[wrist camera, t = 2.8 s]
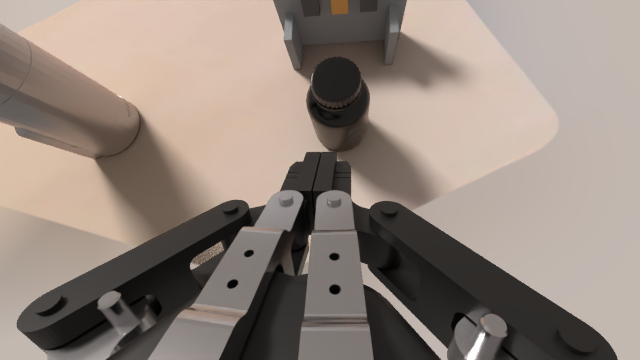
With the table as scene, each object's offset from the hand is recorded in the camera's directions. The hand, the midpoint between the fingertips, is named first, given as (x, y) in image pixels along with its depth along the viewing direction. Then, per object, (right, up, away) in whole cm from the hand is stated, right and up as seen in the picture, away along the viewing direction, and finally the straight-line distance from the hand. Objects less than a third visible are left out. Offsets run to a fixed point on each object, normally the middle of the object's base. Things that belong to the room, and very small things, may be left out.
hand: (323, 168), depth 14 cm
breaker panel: (+3, +18, +26) cm, 32 cm away
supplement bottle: (+3, +6, +23) cm, 24 cm away
